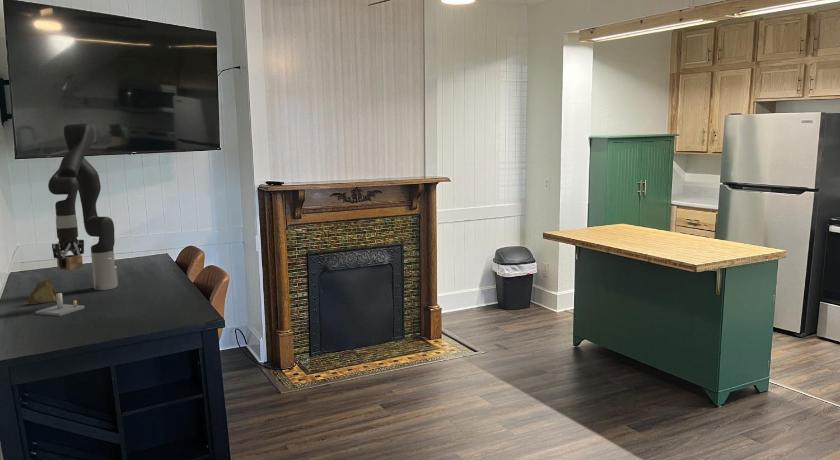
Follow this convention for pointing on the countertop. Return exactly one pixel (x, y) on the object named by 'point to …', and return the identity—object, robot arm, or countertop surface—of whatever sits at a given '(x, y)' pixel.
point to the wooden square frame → (72, 262)
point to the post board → (59, 311)
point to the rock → (43, 293)
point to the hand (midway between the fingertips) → (70, 266)
